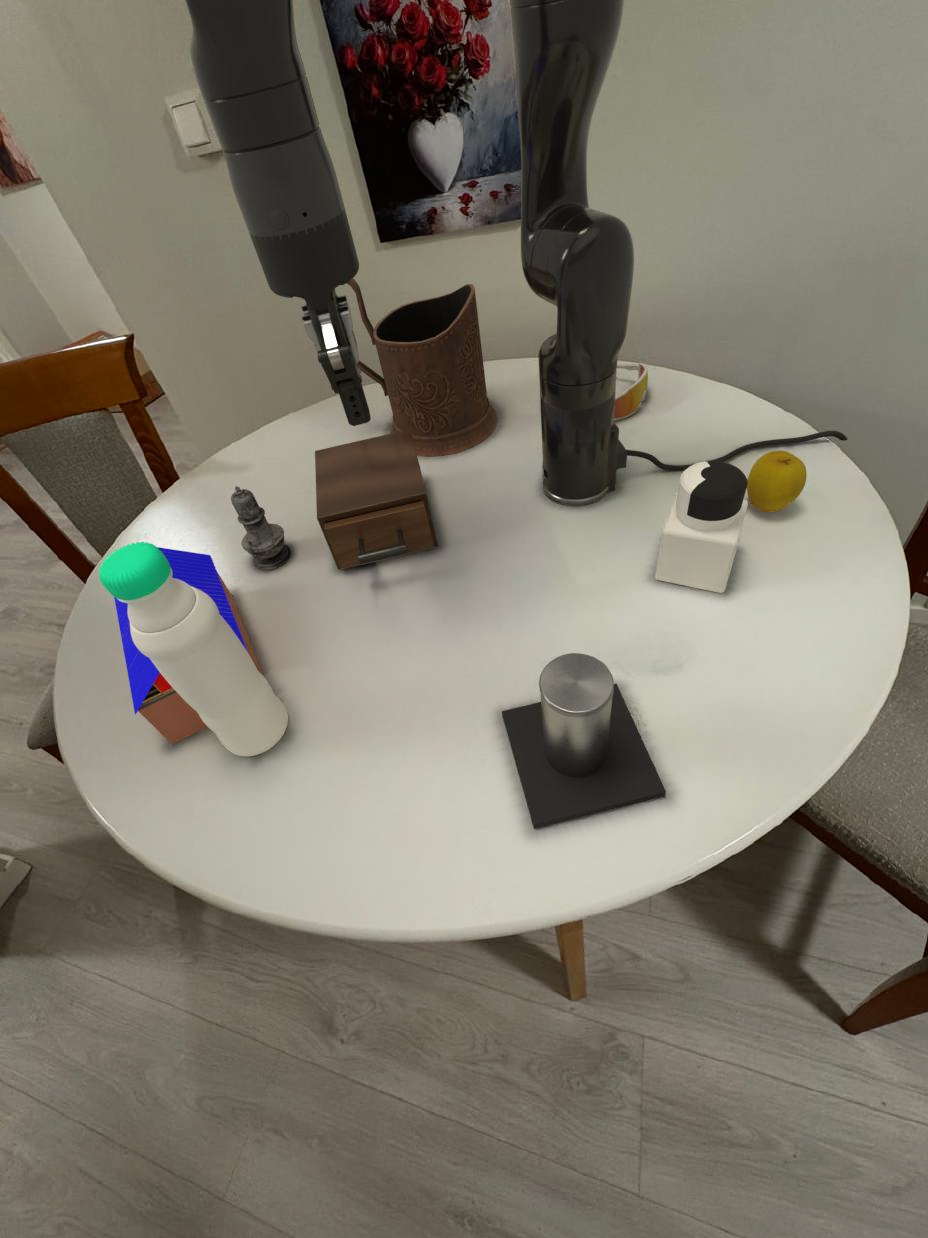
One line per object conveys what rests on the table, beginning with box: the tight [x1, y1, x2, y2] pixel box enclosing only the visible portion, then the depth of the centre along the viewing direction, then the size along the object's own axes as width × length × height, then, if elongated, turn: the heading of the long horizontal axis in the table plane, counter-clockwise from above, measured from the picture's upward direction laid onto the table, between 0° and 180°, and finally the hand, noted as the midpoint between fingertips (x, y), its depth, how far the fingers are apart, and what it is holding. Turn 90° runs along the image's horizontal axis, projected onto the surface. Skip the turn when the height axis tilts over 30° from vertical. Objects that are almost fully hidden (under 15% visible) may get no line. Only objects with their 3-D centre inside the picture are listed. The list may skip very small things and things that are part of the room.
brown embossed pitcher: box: [346, 278, 499, 457], centre depth 90 cm, size 18×24×25 cm
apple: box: [746, 449, 808, 513], centre depth 71 cm, size 6×6×8 cm
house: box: [113, 546, 265, 745], centre depth 66 cm, size 12×20×12 cm, turn 29°
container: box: [654, 460, 749, 594], centre depth 65 cm, size 8×8×13 cm
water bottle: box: [98, 541, 289, 757], centre depth 53 cm, size 7×7×25 cm
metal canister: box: [538, 652, 615, 777], centre depth 51 cm, size 6×6×11 cm
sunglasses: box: [614, 362, 649, 421], centre depth 96 cm, size 14×15×5 cm
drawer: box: [324, 501, 435, 570], centre depth 77 cm, size 19×13×7 cm
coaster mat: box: [501, 683, 667, 830], centre depth 55 cm, size 12×12×1 cm
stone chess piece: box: [230, 485, 292, 571], centre depth 77 cm, size 6×6×12 cm
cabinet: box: [314, 429, 439, 570], centre depth 80 cm, size 16×14×9 cm
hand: (360, 420), depth 57 cm, fingers closed
